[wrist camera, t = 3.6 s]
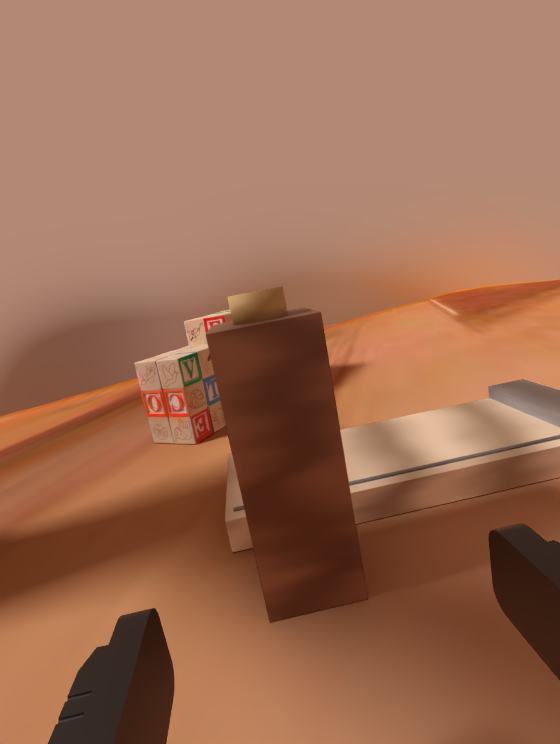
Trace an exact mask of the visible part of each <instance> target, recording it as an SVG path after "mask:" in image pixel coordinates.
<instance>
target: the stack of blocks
mask: <svg viewBox="0 0 560 744" xmlns="http://www.w3.org/2000/svg"><path fill="white" fill-rule="evenodd" d="M227 322H232V316H231V311H230V310H227V311H222V312H217V313H214V314H212V315H208V316H204V317H201V318H196V319H192V320H187V321H184V324H185V329H186V334H187V338H188V343H189V346H186V347H183V348H180V349H177V350H175V351H170V352H167V353H164V354H161V355H158V356H155V357H152V358H149V359H145V360H143V361H139V362H136V363H135V367H136V371H137V376H138V380H139V384H140V388H141V390H142V391H141V395H142V399H143V403H144V407H145V411H146V415H147V417H148V421H149V425H150V429H151V432H152V436H153V440H154V443H175V444H197V443H199V442H200V441H202V440H203V439H205V438H206V437H208V436H209V435H211V434H212V433H215V432H216V431H218V430H220V429H221V428H223V427H224V426H226V424H225V420H224V415H223V411H222V406H221V402H220V397H219V393H218V388H217V384H216V379H215V375H214V370H213V366H212V361H211V357H210V352H209V348H208V343H207V339H206V333H207V332H208V330H209V329H210V328H211V326H212V325H216V324H221V323H227Z"/></svg>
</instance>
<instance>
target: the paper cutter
mask: <svg viewBox="0 0 560 744" xmlns="http://www.w3.org/2000/svg"><path fill="white" fill-rule="evenodd" d="M340 432H341V438H342V444H343V450H344V456H345V462H346V468H347V474H348V481H349V487H350V493H351V499H352V505H353V511H354V517H355V523H356V524H358V523H363V522H367V521H371V520H376V519H380V518H384V517H389V516H393V515H398V514H402V513H406V512H411V511H415V510H419V509H424V508H428V507H432V506H437V505H441V504H445V503H450V502H454V501H459V500H463V499H467V498H472V497H476V496H480V495H485V494H489V493H493V492H498V491H502V490H506V489H511V488H515V487H519V486H524V485H528V484H533V483H537V482H541V481H546V480H550V479H554V478H559V477H560V390H556V389H553V388H550V387H546V386H543V385H540V384H537V383H533V382H530V381H527V380H524V379H522V380H517V381H512V382H507V383H503V384H498V385H493V386H489V398H487V399H483V400H478V401H473V402H469V403H464V404H459V405H455V406H450V407H445V408H441V409H436V410H431V411H427V412H422V413H417V414H413V415H408V416H403V417H399V418H394V419H389V420H385V421H380V422H375V423H371V424H366V425H361V426H357V427H352V428H347V429H343V430H340ZM225 524H226V529H227V533H228V537H229V541H230V546H231V550H232V552H236V551H241V550H245V549H249V548H253V545H252V541H251V536H250V532H249V527H248V523H247V518H246V514H245V509H244V505H243V500H242V496H241V491H240V487H239V482H238V478H237V473H236V469H235V464H234V460H233V456H232V453H231V454H228V471H227V490H226V508H225Z"/></svg>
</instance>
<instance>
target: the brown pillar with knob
mask: <svg viewBox="0 0 560 744" xmlns="http://www.w3.org/2000/svg"><path fill="white" fill-rule="evenodd" d="M228 301H229V306H230V311H231V316H232V322H227V323H221V324H216V325H212V326H211V328H210V329H209V330H208V332H207V333H206V339H207V343H208V348H209V352H210V357H211V361H212V366H213V370H214V375H215V379H216V384H217V388H218V393H219V397H220V402H221V406H222V411H223V415H224V420H225V424H226V429H227V433H228V438H229V442H230V447H231V451H232V456H233V460H234V464H235V469H236V473H237V478H238V482H239V487H240V491H241V496H242V500H243V505H244V509H245V514H246V518H247V523H248V527H249V532H250V536H251V541H252V545H253V550H254V554H255V559H256V563H257V568H258V572H259V577H260V581H261V586H262V590H263V595H264V599H265V604H266V608H267V612H268V617H269V621H270V622H274V621H278V620H282V619H287V618H291V617H295V616H299V615H303V614H307V613H311V612H316V611H320V610H324V609H328V608H332V607H336V606H341V605H345V604H349V603H353V602H357V601H361V600H365V599H368V596H367V590H366V584H365V578H364V572H363V566H362V560H361V554H360V548H359V542H358V535H357V529H356V523H355V517H354V511H353V505H352V499H351V493H350V487H349V481H348V474H347V468H346V462H345V456H344V450H343V444H342V438H341V432H340V426H339V419H338V413H337V407H336V401H335V395H334V389H333V383H332V377H331V371H330V365H329V358H328V352H327V346H326V340H325V334H324V328H323V323H322V316H321V312H319V311H315V310H310V309H306V308H299V309H294V310H289V311H287V308H286V303H285V297H284V292H283V287H277V288H272V289H266V290H261V291H256V292H250V293H245V294H240V295H235V296H230V297H228Z"/></svg>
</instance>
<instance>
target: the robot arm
mask: <svg viewBox="0 0 560 744" xmlns="http://www.w3.org/2000/svg"><path fill="white" fill-rule="evenodd" d="M489 548H490V560H491V571H492V582H493V589H494V592H495V596H496V598H497V601H498V603H499V605H500V607H501V609H502V610H503V612H504V613H505V615H506V616H507V617H508V618H509V620H510V621H511V622H512V623H513V625H514V626H515V627H516V628H517V629H518V631H519V632H520V633H521V634H522V635H523V637H524V638H525V639H526V640H527V641H528V643H529V644H530V645H531V646H532V647H533V649H534V650H535V651H536V652H537V654H538V655H539V656H540V657H541V658H542V660H543V661H544V662H545V663H546V664H547V666H548V667H549V668H550V669H551V670H552V672H553V673H554V674H555V675H556V676H557V678H558V679H559V680H560V543H559V542H557V541H554V540H553V541H549V542H547V541H546V540H544V539H543V538H542V537H541V536H539V535H538V534H537V533H536V532H535V531H533V530H532V529H531V528H530V527H528V526H527V525H525V524H517V525H513V526H508V527H504V528H500V529H495V530H492V531H490V533H489ZM173 697H174V670H173V664H172V660H171V656H170V653H169V650H168V646H167V643H166V639H165V636H164V632H163V629H162V625H161V622H160V618H159V615H158V612H157V611H156V609H155V608H152V609H148V610H144V611H139V612H135V613H131V614H127V615H122V616H120V617H119V619H118V621H117V624H116V626H115V629H114V632H113V635H112V637H111V640H110V643H109V645H106V646H101V647H97V648H96V649H95V650H94V652H93V653H92V654H91V656H90V657H89V658H88V659H87V661H86V662H85V663H84V664H83V666H82V667H81V668H80V670H79V671H78V673H77V675H76V678H75V680H74V682H73V685H72V687H71V690H70V692H69V694H68V701H67V702H65V704H64V706H63V709H62V711H61V714H60V716H59V718H58V719H59V722H58V724H56V725H55V728H54V730H53V733H52V735H51V737H50V740H49V742H48V744H166V742H167V735H168V729H169V723H170V716H171V710H172V703H173Z"/></svg>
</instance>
